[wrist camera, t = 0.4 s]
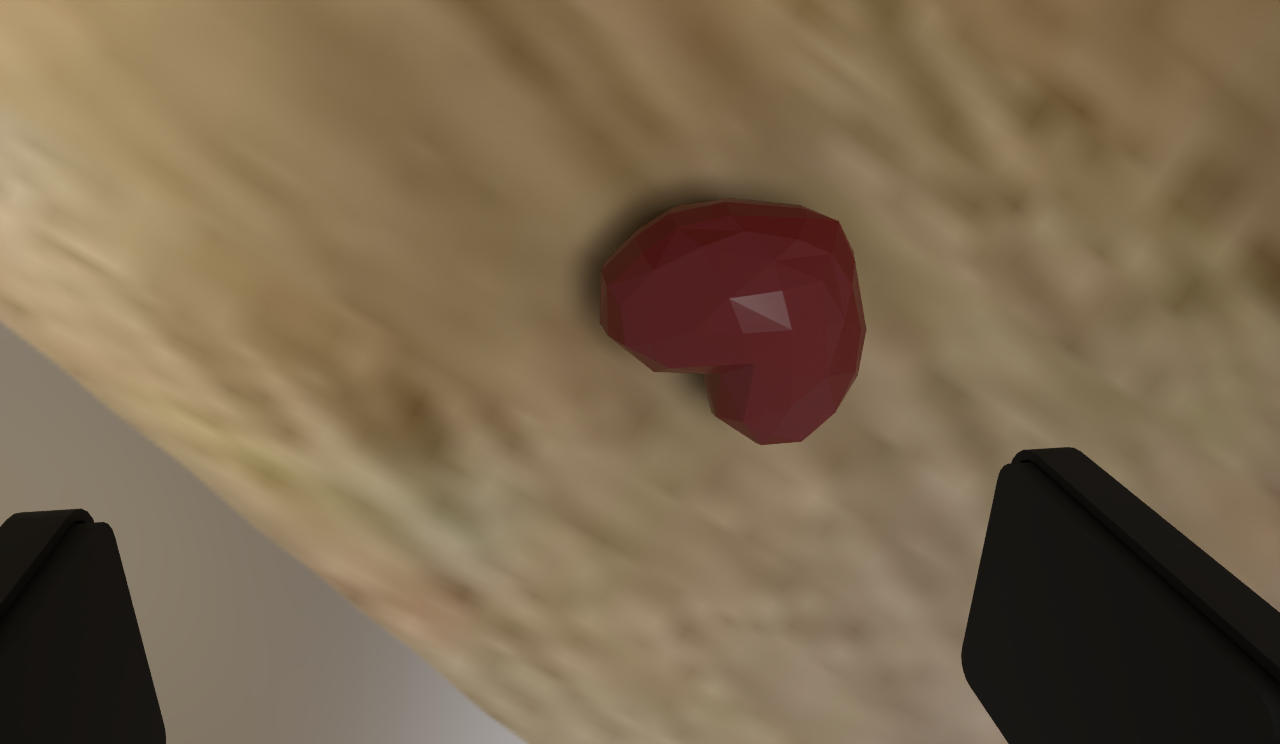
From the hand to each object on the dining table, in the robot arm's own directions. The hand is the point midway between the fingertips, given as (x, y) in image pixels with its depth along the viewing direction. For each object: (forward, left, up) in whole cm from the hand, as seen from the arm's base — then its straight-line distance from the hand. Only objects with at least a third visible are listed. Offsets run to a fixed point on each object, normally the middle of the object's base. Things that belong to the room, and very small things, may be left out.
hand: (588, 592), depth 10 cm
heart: (+7, +10, -31) cm, 33 cm away
